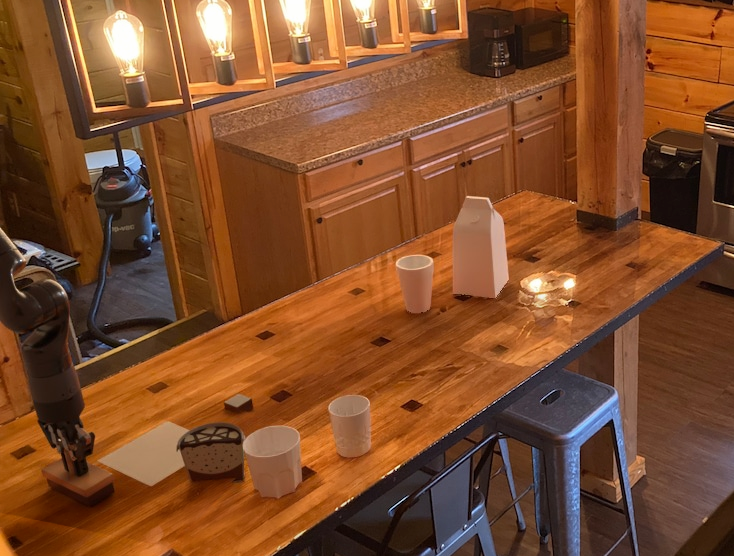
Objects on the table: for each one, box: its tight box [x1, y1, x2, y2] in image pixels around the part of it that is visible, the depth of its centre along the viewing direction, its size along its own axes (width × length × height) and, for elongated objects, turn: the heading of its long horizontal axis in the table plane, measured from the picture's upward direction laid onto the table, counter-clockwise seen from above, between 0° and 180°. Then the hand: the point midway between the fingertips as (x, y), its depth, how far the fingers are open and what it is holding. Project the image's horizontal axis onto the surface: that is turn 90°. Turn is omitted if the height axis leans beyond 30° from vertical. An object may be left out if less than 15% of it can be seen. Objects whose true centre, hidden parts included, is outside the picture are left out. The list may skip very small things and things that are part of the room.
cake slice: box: [176, 421, 247, 484], centre depth 179 cm, size 12×6×10 cm, turn 100°
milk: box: [452, 195, 510, 299], centre depth 252 cm, size 12×12×26 cm
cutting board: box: [96, 420, 191, 487], centre depth 186 cm, size 16×16×1 cm
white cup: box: [327, 394, 372, 459], centre depth 187 cm, size 8×8×10 cm
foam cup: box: [395, 254, 435, 314], centre depth 244 cm, size 10×9×13 cm
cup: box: [242, 425, 303, 500], centre depth 176 cm, size 10×10×10 cm
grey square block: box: [223, 393, 254, 415], centre depth 201 cm, size 4×4×2 cm
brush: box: [41, 447, 115, 508], centre depth 173 cm, size 13×6×9 cm, turn 61°
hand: (77, 471), depth 173 cm, fingers closed on brush, 2 cm apart
